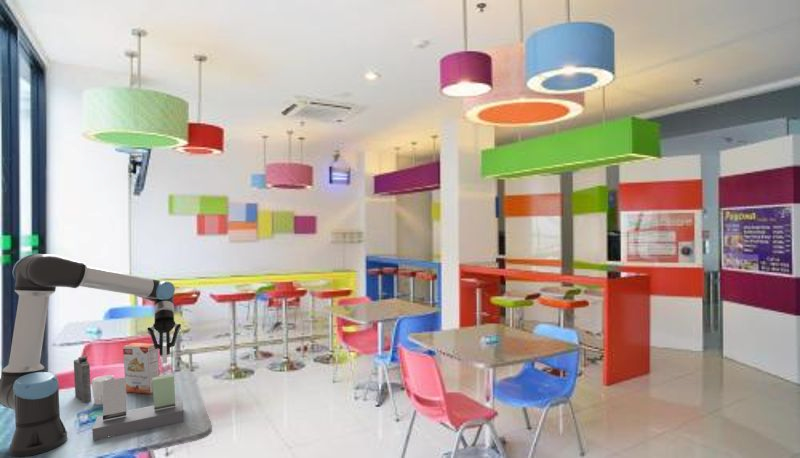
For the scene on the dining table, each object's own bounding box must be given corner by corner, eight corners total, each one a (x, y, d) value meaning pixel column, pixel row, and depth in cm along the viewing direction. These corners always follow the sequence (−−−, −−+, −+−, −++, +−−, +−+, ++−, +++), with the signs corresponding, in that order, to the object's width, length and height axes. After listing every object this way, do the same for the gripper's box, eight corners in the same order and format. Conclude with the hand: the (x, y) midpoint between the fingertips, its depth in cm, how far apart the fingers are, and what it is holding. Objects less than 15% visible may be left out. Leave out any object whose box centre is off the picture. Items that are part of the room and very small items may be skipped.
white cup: (119, 398, 193) (118, 374, 193) (105, 405, 185) (104, 381, 185) (102, 398, 194) (101, 375, 194) (88, 405, 186) (86, 381, 186)
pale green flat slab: (154, 407, 168) (152, 377, 164) (175, 403, 171) (173, 373, 167) (154, 410, 167) (152, 380, 163) (175, 406, 170) (173, 376, 166)
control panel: (97, 427, 164) (97, 416, 164) (182, 409, 177) (182, 399, 177) (92, 440, 153) (92, 429, 153) (183, 421, 166) (183, 410, 166)
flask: (84, 393, 201) (82, 353, 201) (94, 400, 191) (92, 358, 191) (74, 395, 198) (72, 355, 198) (84, 403, 189) (82, 360, 188)
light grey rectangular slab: (103, 420, 160) (103, 381, 165) (126, 415, 163) (126, 378, 168) (102, 419, 159) (103, 381, 164) (125, 415, 162) (125, 377, 167)
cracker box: (124, 392, 199) (122, 345, 199) (136, 387, 205) (133, 342, 205) (149, 394, 195) (147, 346, 195) (160, 389, 201) (158, 343, 201)
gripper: (181, 317, 202) (182, 363, 187) (147, 320, 196) (147, 369, 182) (180, 307, 197) (182, 354, 182) (146, 310, 192) (145, 359, 177)
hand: (164, 361), depth 182 cm, fingers closed
